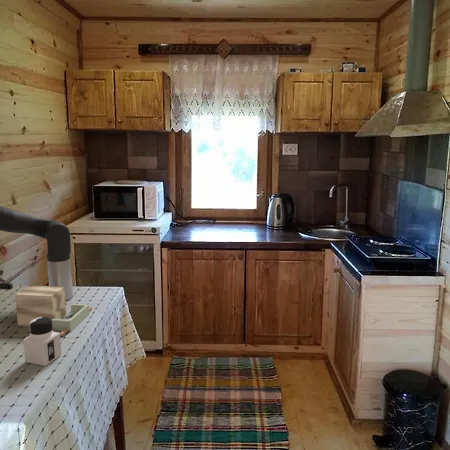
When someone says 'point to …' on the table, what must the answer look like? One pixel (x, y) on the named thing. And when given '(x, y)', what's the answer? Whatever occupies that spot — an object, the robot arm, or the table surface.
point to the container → (42, 342)
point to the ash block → (40, 303)
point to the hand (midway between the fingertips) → (11, 286)
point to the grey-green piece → (71, 319)
